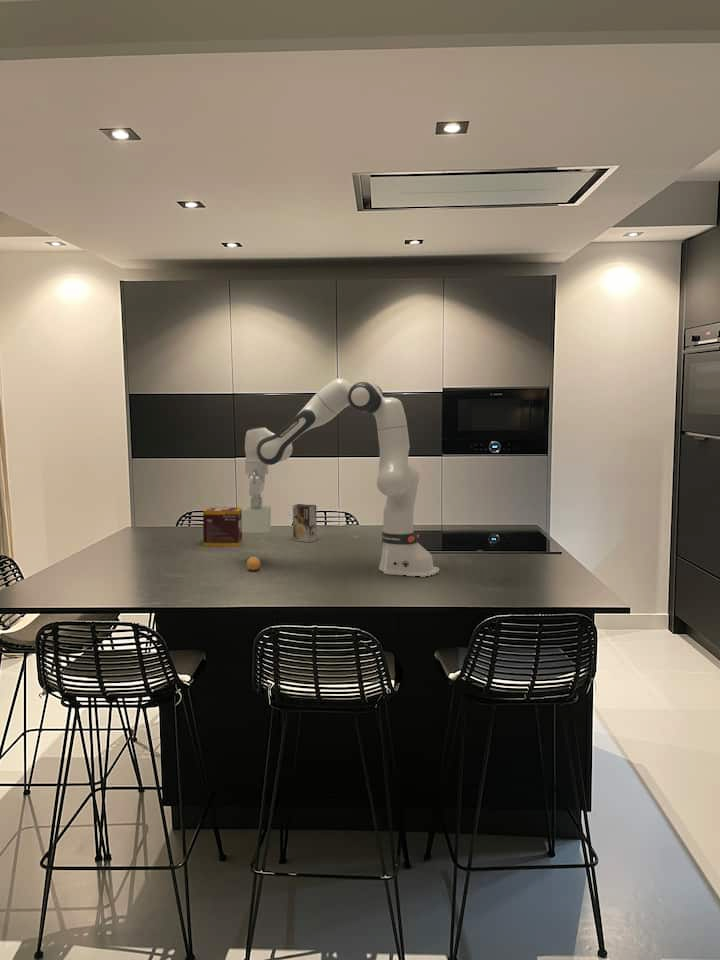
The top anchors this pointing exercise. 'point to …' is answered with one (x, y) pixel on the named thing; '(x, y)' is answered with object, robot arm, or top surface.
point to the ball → (253, 563)
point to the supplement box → (222, 526)
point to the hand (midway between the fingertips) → (256, 505)
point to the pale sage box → (256, 518)
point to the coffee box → (304, 523)
